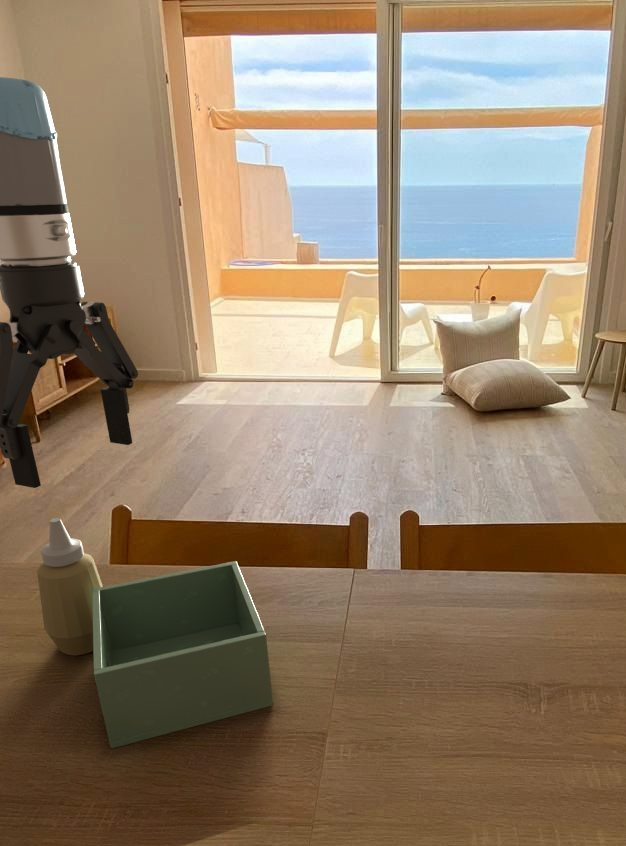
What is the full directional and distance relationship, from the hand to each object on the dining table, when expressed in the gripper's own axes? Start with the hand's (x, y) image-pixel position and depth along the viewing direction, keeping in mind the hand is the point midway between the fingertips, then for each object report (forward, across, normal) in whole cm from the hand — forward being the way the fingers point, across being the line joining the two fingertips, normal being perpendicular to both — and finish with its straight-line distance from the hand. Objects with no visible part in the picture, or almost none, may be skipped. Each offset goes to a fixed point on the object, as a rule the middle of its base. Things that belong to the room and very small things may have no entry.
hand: (78, 462), depth 77 cm
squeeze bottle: (+27, +1, +7) cm, 28 cm away
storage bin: (+27, 0, -10) cm, 29 cm away
